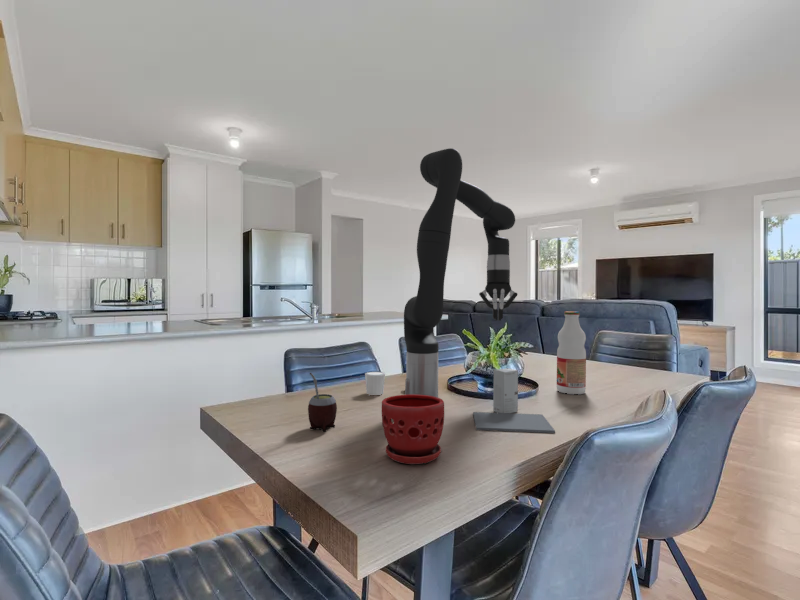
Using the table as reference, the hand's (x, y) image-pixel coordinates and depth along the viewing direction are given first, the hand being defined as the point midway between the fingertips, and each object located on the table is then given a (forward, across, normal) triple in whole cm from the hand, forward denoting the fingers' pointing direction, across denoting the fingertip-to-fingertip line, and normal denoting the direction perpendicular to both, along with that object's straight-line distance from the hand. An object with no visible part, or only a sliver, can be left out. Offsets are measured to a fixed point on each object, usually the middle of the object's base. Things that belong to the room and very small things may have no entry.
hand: (497, 320), depth 144 cm
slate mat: (+25, 0, -32) cm, 41 cm away
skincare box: (+25, 0, -21) cm, 33 cm away
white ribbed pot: (+25, -41, -5) cm, 48 cm away
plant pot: (+25, -24, -58) cm, 68 cm away
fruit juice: (+25, +26, +7) cm, 37 cm away
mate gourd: (+25, -48, -43) cm, 69 cm away
